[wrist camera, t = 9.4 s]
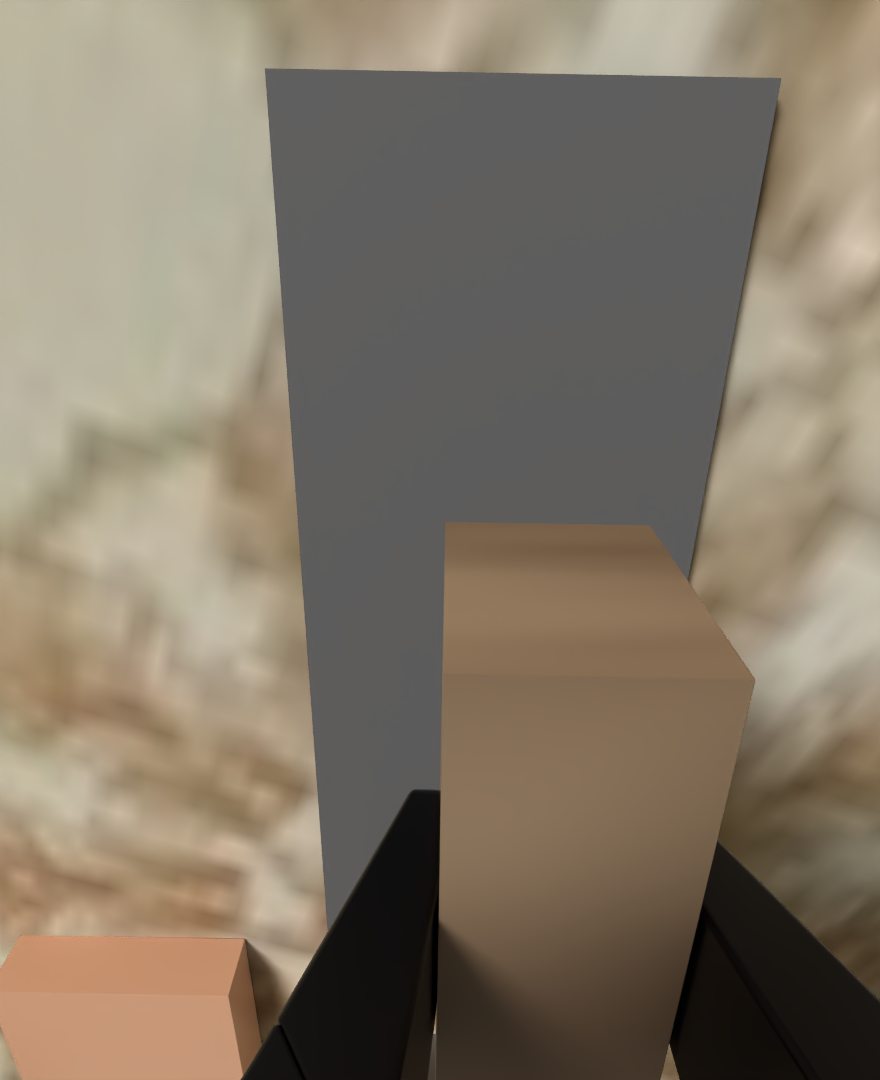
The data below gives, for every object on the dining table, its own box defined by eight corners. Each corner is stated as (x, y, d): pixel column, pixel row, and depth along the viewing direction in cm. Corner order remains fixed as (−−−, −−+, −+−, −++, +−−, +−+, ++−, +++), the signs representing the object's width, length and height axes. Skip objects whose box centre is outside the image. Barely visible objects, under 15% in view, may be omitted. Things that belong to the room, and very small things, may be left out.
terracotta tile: (246, 931, 25) (270, 1080, 29) (25, 927, 25) (77, 1076, 29) (228, 995, 23) (256, 1147, 27) (-14, 991, 23) (48, 1143, 27)
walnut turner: (617, 1160, 14) (661, 1401, 11) (371, 1155, 14) (352, 1395, 11) (752, 526, 9) (911, 682, 6) (342, 520, 9) (286, 671, 6)
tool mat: (613, 949, 25) (616, 962, 24) (331, 943, 25) (329, 956, 24) (770, 82, 14) (780, 78, 14) (271, 73, 14) (265, 68, 14)
